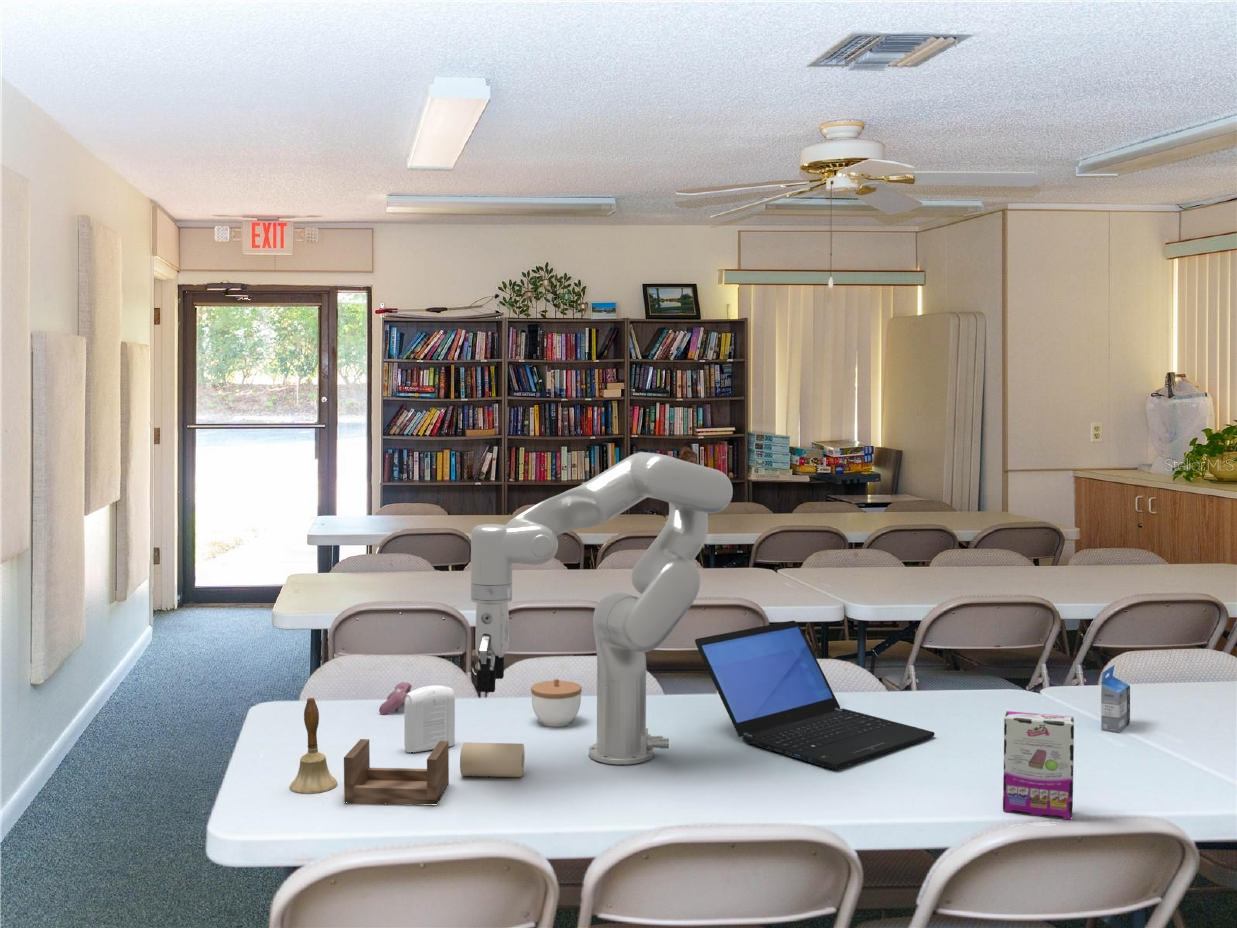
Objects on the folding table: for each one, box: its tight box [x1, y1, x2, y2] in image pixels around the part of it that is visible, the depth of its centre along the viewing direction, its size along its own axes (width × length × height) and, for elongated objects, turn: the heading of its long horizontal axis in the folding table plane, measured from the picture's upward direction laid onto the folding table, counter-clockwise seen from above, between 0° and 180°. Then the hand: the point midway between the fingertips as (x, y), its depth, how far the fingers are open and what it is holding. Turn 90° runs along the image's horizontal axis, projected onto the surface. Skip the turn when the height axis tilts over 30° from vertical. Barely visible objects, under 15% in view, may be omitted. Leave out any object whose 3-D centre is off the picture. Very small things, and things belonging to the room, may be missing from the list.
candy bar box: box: [1002, 710, 1075, 820], centre depth 199 cm, size 11×5×16 cm, turn 69°
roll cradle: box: [343, 738, 450, 805], centre depth 206 cm, size 16×10×8 cm, turn 87°
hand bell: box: [289, 697, 338, 795], centre depth 210 cm, size 8×8×16 cm
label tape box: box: [1100, 665, 1131, 734], centre depth 248 cm, size 9×4×12 cm, turn 143°
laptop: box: [694, 620, 935, 771], centre depth 243 cm, size 33×38×19 cm
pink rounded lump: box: [378, 681, 413, 715], centre depth 260 cm, size 10×5×7 cm, turn 179°
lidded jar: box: [530, 678, 583, 728], centre depth 250 cm, size 11×11×9 cm
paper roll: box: [459, 741, 526, 778], centre depth 216 cm, size 11×6×6 cm, turn 87°
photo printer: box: [404, 684, 456, 754], centre depth 232 cm, size 10×4×12 cm, turn 123°
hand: (490, 684), depth 215 cm, fingers open, 9 cm apart
